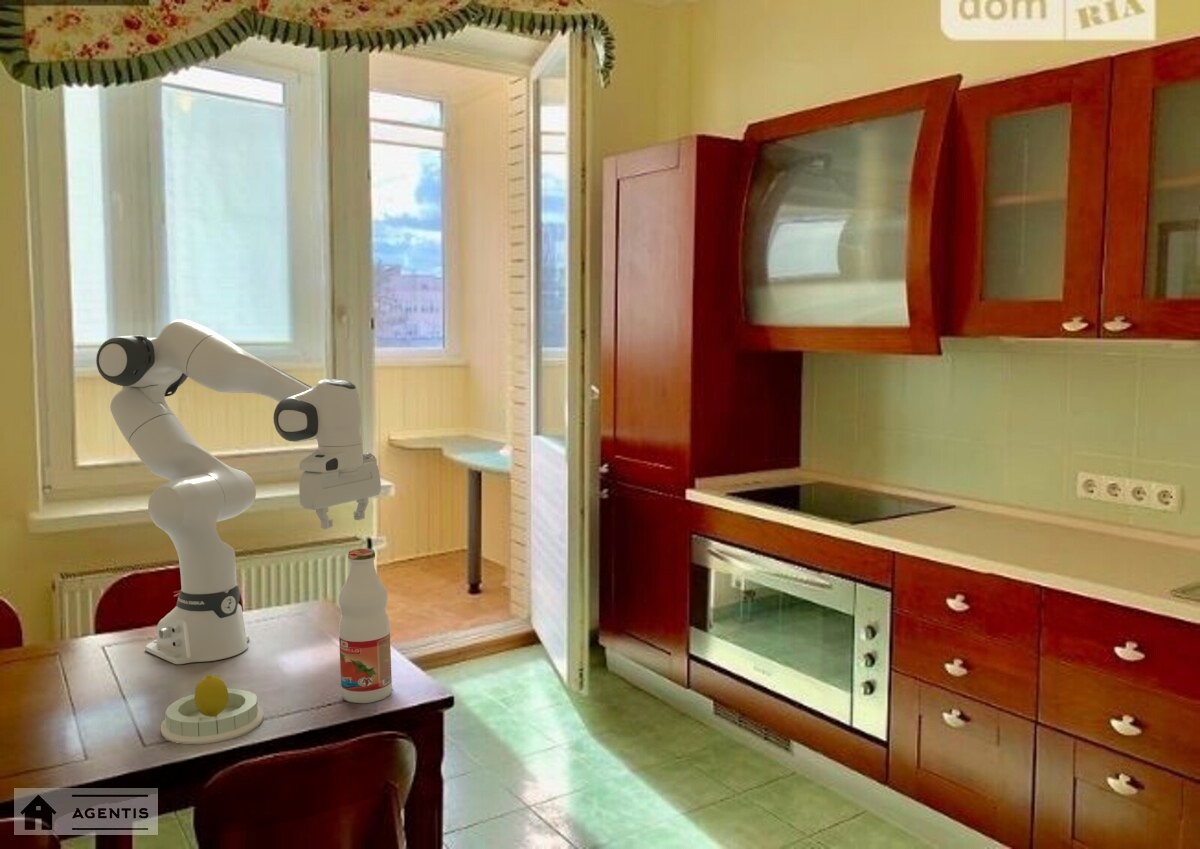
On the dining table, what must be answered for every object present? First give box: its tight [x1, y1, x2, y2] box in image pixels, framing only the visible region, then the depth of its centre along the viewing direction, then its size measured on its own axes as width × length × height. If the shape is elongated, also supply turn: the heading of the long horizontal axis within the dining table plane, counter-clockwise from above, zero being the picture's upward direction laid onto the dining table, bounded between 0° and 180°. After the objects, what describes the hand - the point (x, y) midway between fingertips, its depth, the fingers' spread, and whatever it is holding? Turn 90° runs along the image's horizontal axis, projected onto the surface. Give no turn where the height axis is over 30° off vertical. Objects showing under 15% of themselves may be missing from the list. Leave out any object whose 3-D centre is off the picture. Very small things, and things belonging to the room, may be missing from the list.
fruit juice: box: [338, 548, 393, 704], centre depth 184 cm, size 9×9×28 cm
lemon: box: [194, 674, 228, 717], centre depth 172 cm, size 6×6×8 cm
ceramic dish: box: [160, 688, 265, 745], centre depth 172 cm, size 17×17×4 cm
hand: (343, 523), depth 201 cm, fingers open, 8 cm apart
